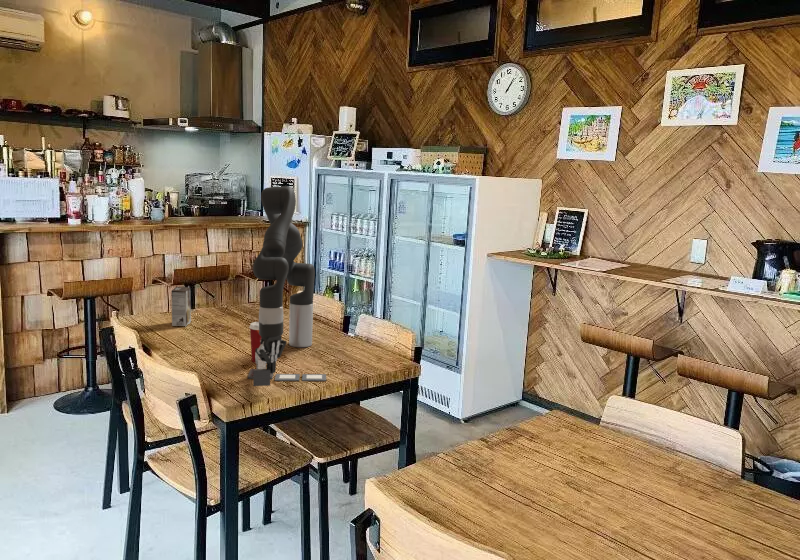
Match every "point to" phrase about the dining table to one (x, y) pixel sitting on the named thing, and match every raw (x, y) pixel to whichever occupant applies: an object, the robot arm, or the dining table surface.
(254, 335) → the paper cup
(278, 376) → the label tile
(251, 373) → the pivot post
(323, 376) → the label tile
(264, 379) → the swing arm
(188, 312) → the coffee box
